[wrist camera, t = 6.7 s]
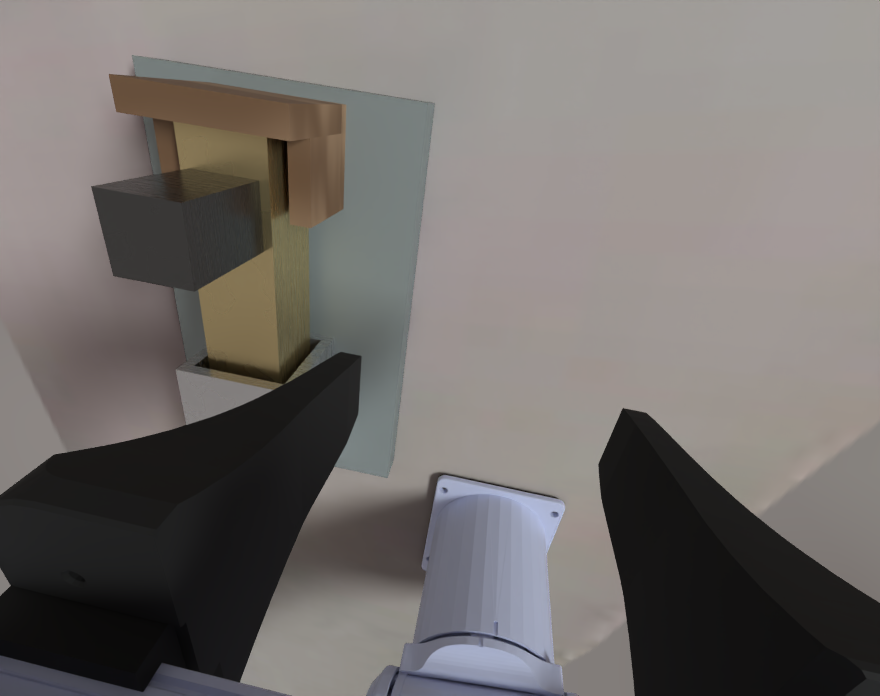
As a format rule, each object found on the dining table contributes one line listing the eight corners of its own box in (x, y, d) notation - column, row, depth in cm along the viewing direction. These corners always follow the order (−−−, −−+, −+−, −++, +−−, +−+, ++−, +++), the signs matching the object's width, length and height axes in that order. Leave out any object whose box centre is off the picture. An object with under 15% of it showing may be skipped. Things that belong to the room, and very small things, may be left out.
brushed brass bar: (310, 384, 23) (233, 488, 17) (251, 372, 23) (153, 470, 17) (307, 128, 17) (184, 141, 11) (228, 115, 17) (62, 120, 11)
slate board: (393, 460, 28) (387, 478, 26) (214, 422, 29) (200, 437, 27) (434, 103, 18) (428, 102, 17) (158, 59, 19) (132, 55, 17)
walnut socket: (343, 209, 19) (292, 239, 15) (221, 187, 19) (136, 209, 15) (346, 104, 17) (288, 103, 13) (210, 82, 17) (108, 73, 13)
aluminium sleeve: (332, 453, 26) (295, 522, 22) (252, 436, 27) (200, 501, 22) (334, 337, 22) (290, 393, 18) (240, 319, 23) (175, 369, 18)
